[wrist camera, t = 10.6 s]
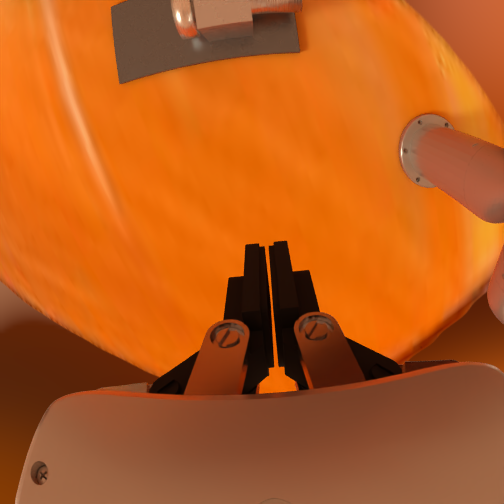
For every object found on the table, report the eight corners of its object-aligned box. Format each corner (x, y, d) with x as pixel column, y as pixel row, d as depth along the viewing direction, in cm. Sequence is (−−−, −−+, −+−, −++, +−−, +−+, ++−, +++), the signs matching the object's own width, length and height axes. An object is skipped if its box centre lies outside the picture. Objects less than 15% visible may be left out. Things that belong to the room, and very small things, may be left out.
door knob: (290, -16, 25) (298, -38, 18) (298, 31, 29) (308, 17, 22) (184, -3, 26) (168, -22, 19) (189, 44, 30) (174, 33, 23)
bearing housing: (286, -27, 25) (294, -54, 17) (299, 52, 32) (311, 41, 24) (113, 8, 27) (82, -6, 19) (121, 83, 34) (90, 84, 26)
